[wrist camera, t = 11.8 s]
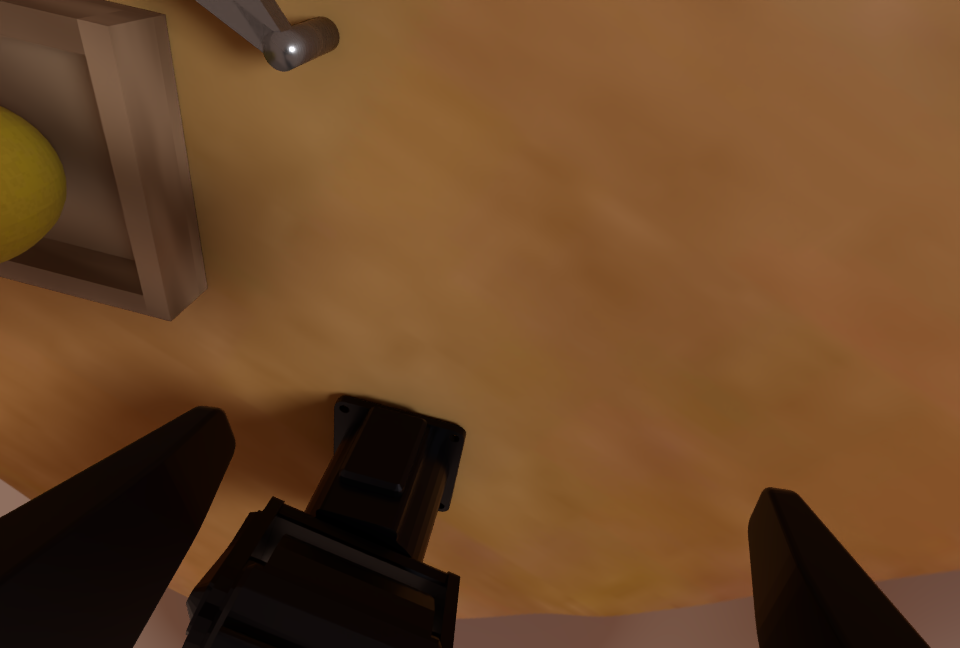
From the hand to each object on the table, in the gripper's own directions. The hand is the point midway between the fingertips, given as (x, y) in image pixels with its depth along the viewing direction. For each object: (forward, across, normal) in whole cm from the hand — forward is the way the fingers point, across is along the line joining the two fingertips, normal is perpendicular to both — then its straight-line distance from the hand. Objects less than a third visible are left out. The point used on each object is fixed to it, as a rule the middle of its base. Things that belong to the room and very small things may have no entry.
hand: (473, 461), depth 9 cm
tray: (+12, +19, 0) cm, 23 cm away
